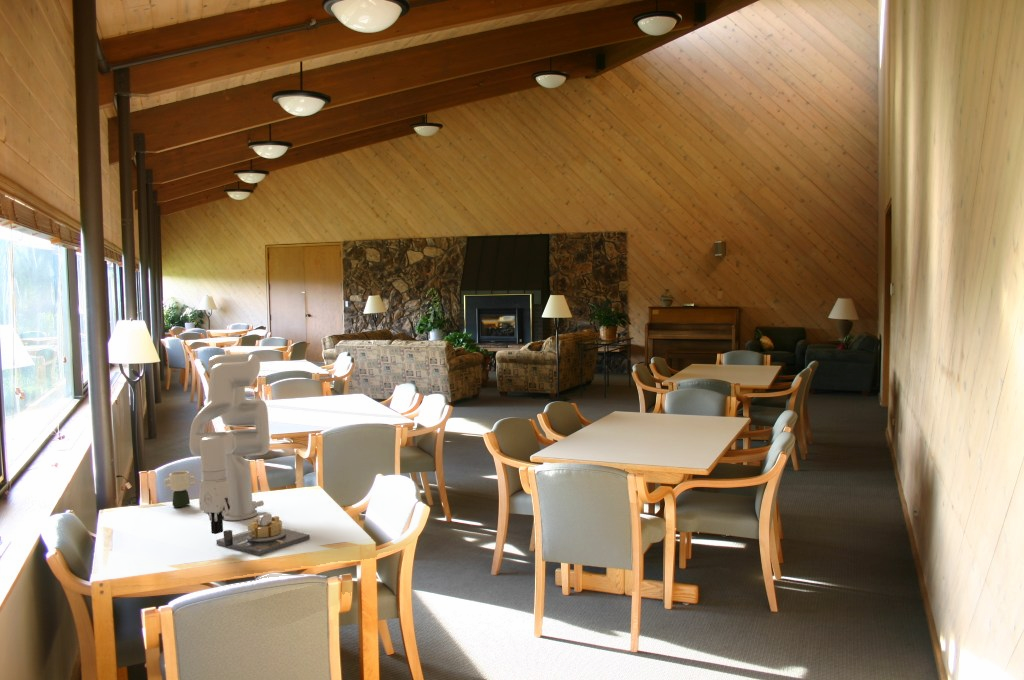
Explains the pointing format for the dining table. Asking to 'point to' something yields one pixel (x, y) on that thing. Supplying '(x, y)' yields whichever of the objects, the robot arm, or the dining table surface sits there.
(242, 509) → the robot arm
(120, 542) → the dining table surface
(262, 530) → the knobbed lever handle
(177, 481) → the character mug
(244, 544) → the base plate
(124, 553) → the dining table surface
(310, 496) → the dining table surface
